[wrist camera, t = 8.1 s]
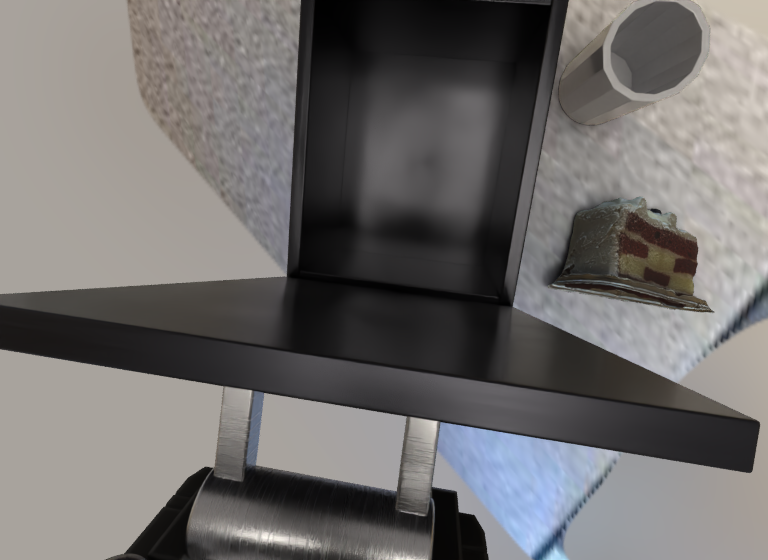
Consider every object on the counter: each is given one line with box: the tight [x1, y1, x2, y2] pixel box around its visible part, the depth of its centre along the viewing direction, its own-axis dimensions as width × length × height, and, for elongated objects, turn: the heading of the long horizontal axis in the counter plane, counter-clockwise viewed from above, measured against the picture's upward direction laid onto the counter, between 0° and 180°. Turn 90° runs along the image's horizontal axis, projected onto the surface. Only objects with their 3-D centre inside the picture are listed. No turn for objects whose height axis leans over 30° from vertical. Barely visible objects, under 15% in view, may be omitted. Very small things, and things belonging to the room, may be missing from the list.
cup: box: [559, 0, 710, 125], centre depth 26 cm, size 5×5×8 cm
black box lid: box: [0, 277, 760, 560], centre depth 15 cm, size 17×14×5 cm
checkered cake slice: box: [548, 197, 714, 313], centre depth 30 cm, size 10×7×12 cm
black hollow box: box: [287, 0, 569, 307], centre depth 28 cm, size 17×14×10 cm
